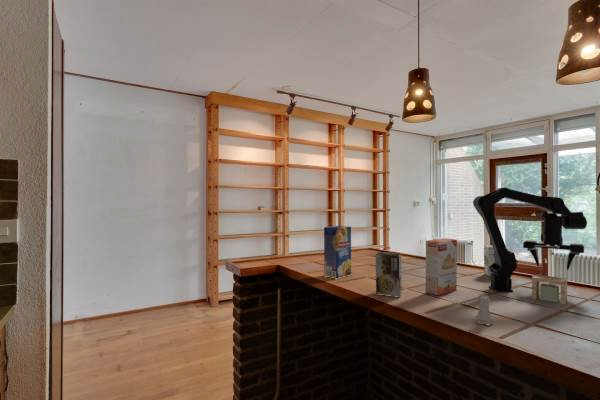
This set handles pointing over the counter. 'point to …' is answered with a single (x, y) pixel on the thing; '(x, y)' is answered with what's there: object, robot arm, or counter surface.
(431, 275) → the cracker box
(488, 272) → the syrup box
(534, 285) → the shelf lane
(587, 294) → the counter surface
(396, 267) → the coffee box
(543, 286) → the tethered block
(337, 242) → the blue food box
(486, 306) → the rook chess piece
